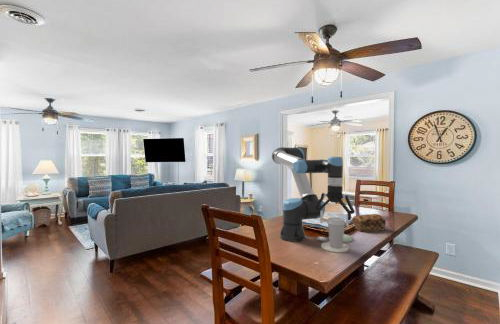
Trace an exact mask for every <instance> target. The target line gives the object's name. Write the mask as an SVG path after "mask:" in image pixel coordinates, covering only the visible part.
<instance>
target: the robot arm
mask: <svg viewBox="0 0 500 324" xmlns="http://www.w3.org/2000/svg"><path fill="white" fill-rule="evenodd" d="M271 158H272V161H273V162H274V163H275V164H278V165H284V166H286V167H287V168H288V169H290V170H291V173H292V176H293V178H294V182H295V184H296V188H297V190H298V194H299V198H298V197H296V198H294V197H293V198H288V199H285V200H284V201H283V203H282V225H281V229H280V232H279V237H280V239H282V240H284V241H289V242H301V241H304V240H306V234H305V228H304V227H303V221H304V220H312V219H313V220H316V219H319V223H320V224H322V223H323V222H324V214H325V211H326V205H327V204H329V203H335V204H337V203H339V204H340V206H341V207H342V208H343V209H344V210H345V212H346V219H345V220H346V221H345V223H346V224H345V226H346V227H347V228H348V227H349V225H350V224H349V223H350V221H351V220H352V214H355V211H356V210H355V209H354V207H353V205H352V203H351V201H350V198H349V197H350V195H349V194H346V195H344V194H343V186H342V185H343V174H344V173H343V169H344V168H343V167H344V164H343V157H342V156H329V157H327V159H305V158H306V157H305V152H304V150H303V148H300V147H295V146H294V147H278V148H276V149H274V150H273V151H272V154H271ZM307 174H327V193H325V192H322V193H321V195H320V196H321V197H320V198H318V195H317V194H315V193H314V192H313V191H314V190H313V189H312V186H311V183H310V180H309V178H308V175H307ZM326 197H327V200H326V201H324V198H326ZM342 199H344V200H345V202H346V203H347V205H346V203H345V202H344V200H342Z"/></svg>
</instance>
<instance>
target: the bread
mask: <svg viewBox="0 0 500 324" xmlns="http://www.w3.org/2000/svg"><path fill="white" fill-rule="evenodd" d="M351 220H352V223H353V224H354V225H355V228H354V230H357V231H359V232H361V233H362V232H363V233H364V232H365V233H366V232H368V233H370V232H380V231H381V232H382V231H385V230H386V225H387V223H386V219H385V218H384V217H383V216H381V215H380V214H379V213H378V214H377V213H370V214H361V215H360V214H359V215H355V216H353V217H352V218H351ZM352 223H351V224H352ZM353 224H352V225H353Z"/></svg>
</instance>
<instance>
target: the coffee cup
mask: <svg viewBox="0 0 500 324" xmlns="http://www.w3.org/2000/svg"><path fill="white" fill-rule="evenodd" d="M326 223H327V228H328V238H329V241H328V242H330V247H332V248H336V249H340V248H342V247H343V244H344V242H343V237H344V234H345V226H346V221H345V219H344V218H343V217H336V216H333V217H332V216H331V217H329V218H328V219H327V221H326Z"/></svg>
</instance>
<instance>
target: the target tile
mask: <svg viewBox="0 0 500 324" xmlns="http://www.w3.org/2000/svg"><path fill="white" fill-rule="evenodd" d="M314 240H315V242H316V241H318V242H322V243H325V242H330V241H329V237H325V236H320V235H318V236H317V237H315V239H314Z"/></svg>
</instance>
